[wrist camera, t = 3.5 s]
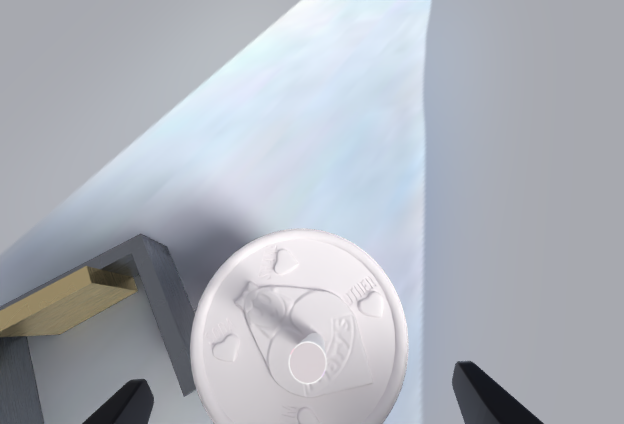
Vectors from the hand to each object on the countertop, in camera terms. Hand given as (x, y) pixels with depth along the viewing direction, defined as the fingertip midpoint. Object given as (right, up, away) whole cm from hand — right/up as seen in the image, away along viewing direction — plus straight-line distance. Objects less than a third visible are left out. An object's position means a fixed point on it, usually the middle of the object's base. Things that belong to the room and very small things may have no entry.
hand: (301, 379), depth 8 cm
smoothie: (0, -2, +9) cm, 9 cm away
